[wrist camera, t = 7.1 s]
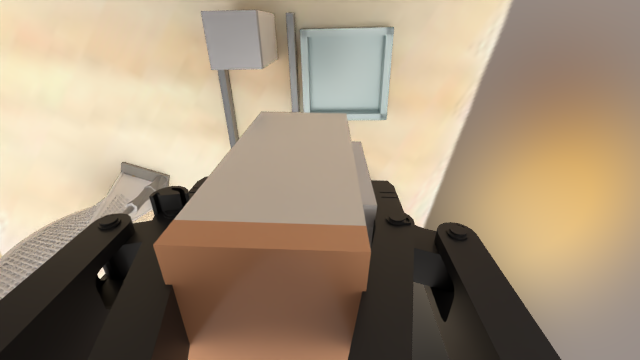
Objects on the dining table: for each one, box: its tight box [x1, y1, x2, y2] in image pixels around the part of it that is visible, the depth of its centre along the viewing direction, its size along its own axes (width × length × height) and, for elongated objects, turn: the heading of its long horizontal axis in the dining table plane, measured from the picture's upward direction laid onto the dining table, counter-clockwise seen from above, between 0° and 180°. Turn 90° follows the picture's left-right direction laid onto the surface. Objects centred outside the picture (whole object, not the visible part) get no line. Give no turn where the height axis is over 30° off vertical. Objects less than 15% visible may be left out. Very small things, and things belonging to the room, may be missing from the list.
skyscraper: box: [0, 162, 169, 300], centre depth 35 cm, size 8×8×28 cm
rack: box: [201, 10, 300, 148], centre depth 36 cm, size 22×10×10 cm, turn 1°
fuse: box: [153, 112, 371, 360], centre depth 13 cm, size 5×5×12 cm
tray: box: [300, 27, 394, 120], centre depth 37 cm, size 11×11×2 cm
